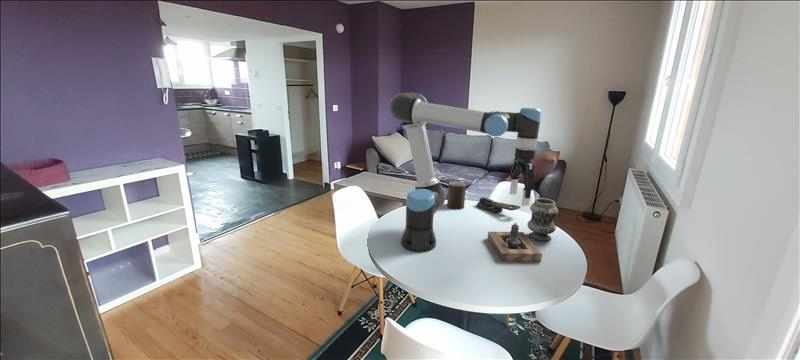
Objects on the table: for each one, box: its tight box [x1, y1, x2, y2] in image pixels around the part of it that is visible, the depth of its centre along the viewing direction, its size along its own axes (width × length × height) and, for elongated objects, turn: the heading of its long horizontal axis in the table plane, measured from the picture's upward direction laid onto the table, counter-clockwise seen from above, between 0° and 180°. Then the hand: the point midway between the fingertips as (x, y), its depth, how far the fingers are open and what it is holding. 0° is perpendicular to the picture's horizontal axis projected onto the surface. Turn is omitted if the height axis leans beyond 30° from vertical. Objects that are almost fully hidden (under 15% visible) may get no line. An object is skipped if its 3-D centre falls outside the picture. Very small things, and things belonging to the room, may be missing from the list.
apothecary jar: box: [526, 197, 559, 243], centre depth 151 cm, size 12×12×18 cm
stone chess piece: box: [506, 222, 521, 249], centre depth 140 cm, size 6×6×12 cm
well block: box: [487, 231, 543, 263], centre depth 141 cm, size 16×20×4 cm
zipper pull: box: [476, 196, 521, 215], centre depth 182 cm, size 9×7×25 cm
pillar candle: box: [446, 181, 467, 211], centre depth 188 cm, size 10×10×15 cm
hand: (518, 199), depth 135 cm, fingers open, 13 cm apart
